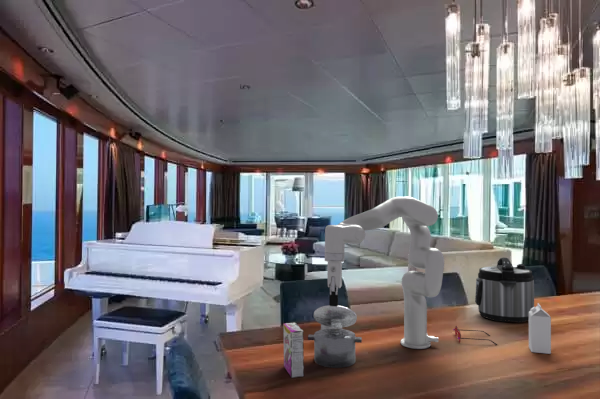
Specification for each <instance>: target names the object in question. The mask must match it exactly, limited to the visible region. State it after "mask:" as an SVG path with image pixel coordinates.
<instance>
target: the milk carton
mask: <svg viewBox="0 0 600 399" xmlns="http://www.w3.org/2000/svg"><path fill="white" fill-rule="evenodd" d="M551 323H552V317H551V316H550V314H549V313H548V312H547V311H545V309H543V308H542V306H541V305H540V303H539V302H537V305H536V306H534V307H533V308H531V309H530V311H529V321H528V349H529V351H530V352H531V353H537V354H538V353H539V354H549V355H551V354H552V352H551V351H552V327H551V326H552V325H551Z"/></svg>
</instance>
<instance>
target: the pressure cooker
mask: <svg viewBox="0 0 600 399" xmlns="http://www.w3.org/2000/svg"><path fill="white" fill-rule="evenodd" d="M496 264H497V265H495V266H483V267H480V268H479V271H478V272H477V278H476V280H475V296H474V297H475V298H474V300H475V304H476V306H478V307H477V308H478V312H479V314H480V316H481V317H484V318H485V319H489V320H491V321H497V322H506V323H507V322H512V323H525V322H526V321H527V322H529V311H530V309H531V308H533V307H535V279H534V278H535V277H534V275H533V271H532V270H530V269H527V268H526V266H525V264H523V263H518V264H516V267H514V266H513V264H512V262H511V261H510V259H509V258H507V257H500V258H499V260H497V263H496Z"/></svg>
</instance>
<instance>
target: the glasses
mask: <svg viewBox="0 0 600 399" xmlns="http://www.w3.org/2000/svg"><path fill="white" fill-rule="evenodd" d="M452 330H453V331H454V334H455V336H456V337H457V339H458V342H459V343H461V340H478V341H479V340H481V341H489V342H491V343H493V344H494V345H495V346H498V343H496V342H495V341H493V340H492V339H485V338H472V337H471V338H470V337H469V338H467V337H462V335H461V331H463V332H464V331H465V332H467V331H468V332H479V330H478V329H477V330H474V329H459V328H458V326H457V325H455V327H454V328H453V329H452ZM480 332H481V333H484V334H485V335H487V336H488V337H491V334H489V333H487V332H485V331H484V330H480Z"/></svg>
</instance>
